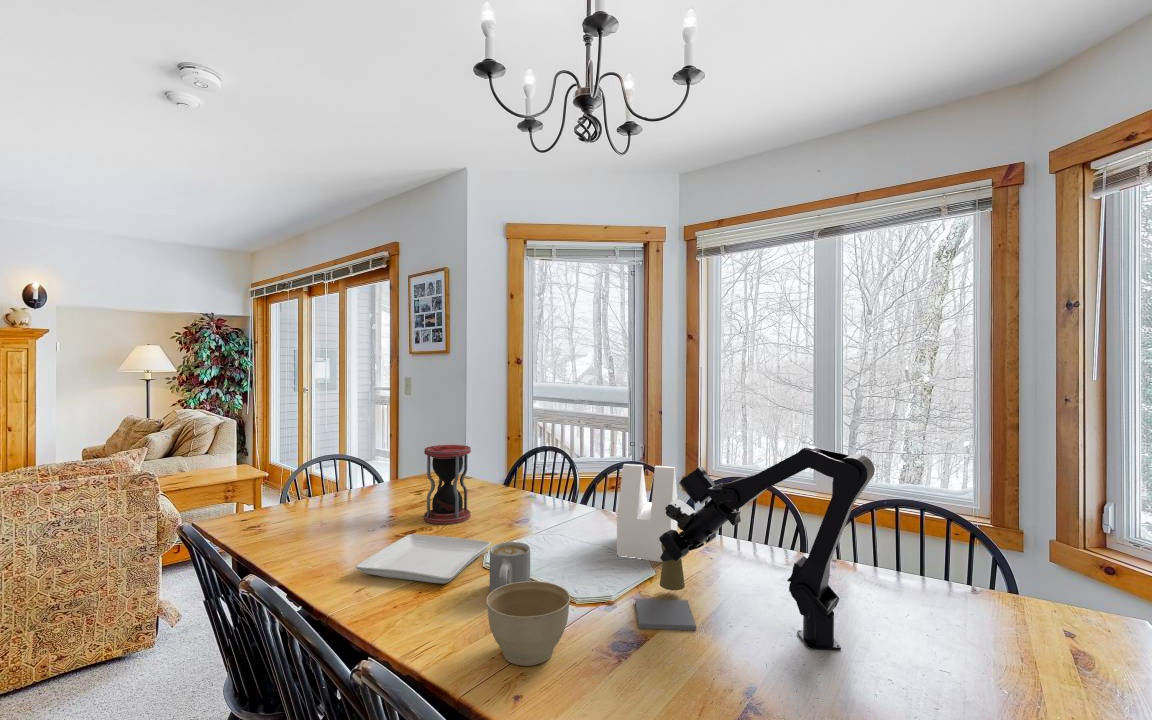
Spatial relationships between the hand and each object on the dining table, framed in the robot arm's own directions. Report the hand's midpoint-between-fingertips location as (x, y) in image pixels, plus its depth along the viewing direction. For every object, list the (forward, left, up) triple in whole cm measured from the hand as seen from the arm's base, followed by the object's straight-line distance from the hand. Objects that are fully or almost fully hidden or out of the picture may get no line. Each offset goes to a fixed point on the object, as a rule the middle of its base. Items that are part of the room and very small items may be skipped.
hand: (667, 556), depth 132 cm
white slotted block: (+31, +2, -9) cm, 33 cm away
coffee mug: (-2, +39, -9) cm, 40 cm away
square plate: (+14, +64, -10) cm, 66 cm away
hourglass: (+57, +71, -9) cm, 92 cm away
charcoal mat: (-12, +2, -9) cm, 15 cm away
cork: (-1, -1, -7) cm, 7 cm away
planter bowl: (-29, +30, -9) cm, 43 cm away
